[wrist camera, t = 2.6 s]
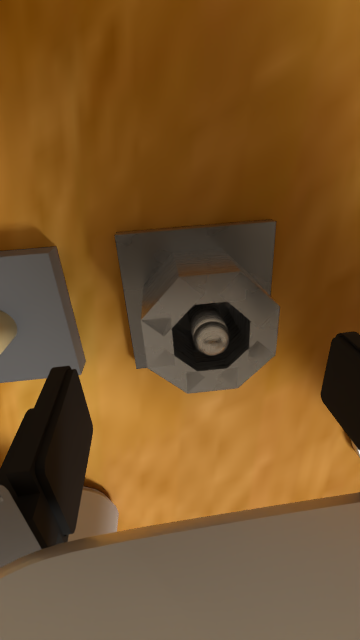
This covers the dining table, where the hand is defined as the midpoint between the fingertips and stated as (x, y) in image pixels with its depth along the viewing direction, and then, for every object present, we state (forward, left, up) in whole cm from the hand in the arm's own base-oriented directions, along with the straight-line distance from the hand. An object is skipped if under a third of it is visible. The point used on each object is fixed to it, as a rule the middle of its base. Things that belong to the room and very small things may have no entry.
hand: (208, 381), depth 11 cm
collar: (-1, +1, -8) cm, 8 cm away
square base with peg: (+11, +1, -9) cm, 14 cm away
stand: (-1, +1, -9) cm, 9 cm away
